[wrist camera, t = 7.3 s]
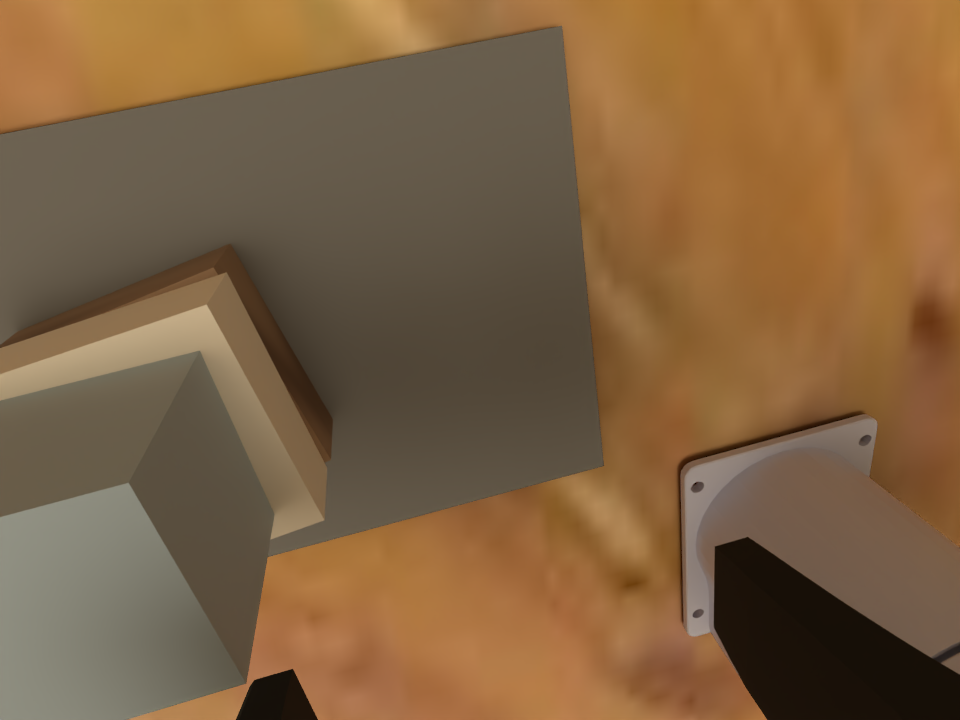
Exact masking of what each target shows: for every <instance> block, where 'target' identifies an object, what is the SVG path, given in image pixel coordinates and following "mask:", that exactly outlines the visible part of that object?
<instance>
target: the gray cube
mask: <svg viewBox="0 0 960 720" xmlns="http://www.w3.org/2000/svg"><path fill="white" fill-rule="evenodd" d="M274 515H275V514H274V512H273V510H272V508H271V506H270V503H269V501H268V499H267V497H266V495H265V492H264V490H263V488H262V486H261V484H260V481H259V479H258V477H257V475H256V473H255V471H254V468H253V466H252V464H251V462H250V460H249V457H248V455H247V453H246V451H245V449H244V446H243V444H242V442H241V440H240V438H239V435H238V433H237V431H236V429H235V427H234V425H233V422H232V420H231V418H230V416H229V414H228V411H227V409H226V407H225V405H224V403H223V400H222V398H221V396H220V394H219V392H218V389H217V387H216V385H215V383H214V381H213V379H212V376H211V374H210V372H209V370H208V368H207V365H206V363H205V361H204V359H203V357H202V354H201V352H200V351H196V352H192V353H188V354H184V355H180V356H176V357H172V358H168V359H164V360H160V361H156V362H152V363H148V364H144V365H140V366H136V367H132V368H128V369H124V370H120V371H116V372H112V373H108V374H104V375H100V376H96V377H92V378H88V379H84V380H80V381H76V382H72V383H68V384H64V385H60V386H56V387H52V388H48V389H44V390H41V391H37V392H33V393H29V394H25V395H21V396H17V397H13V398H9V399H5V400H1V401H0V720H127V719H130V718H134V717H137V716H140V715H143V714H147V713H150V712H153V711H157V710H160V709H163V708H167V707H170V706H173V705H177V704H180V703H183V702H186V701H190V700H193V699H196V698H200V697H203V696H206V695H210V694H213V693H216V692H219V691H223V690H226V689H229V688H233V687H236V686H239V685H243V684H246V682H247V676H248V670H249V664H250V658H251V652H252V646H253V640H254V634H255V628H256V622H257V616H258V610H259V604H260V599H261V593H262V587H263V581H264V575H265V569H266V563H267V557H268V551H269V545H270V539H271V533H272V527H273V521H274Z"/></svg>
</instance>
